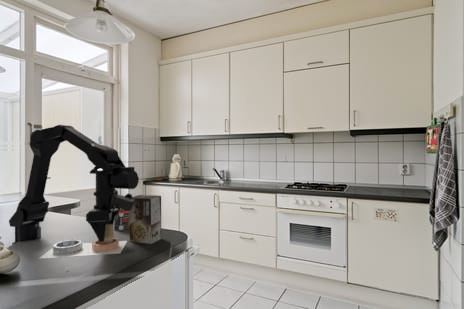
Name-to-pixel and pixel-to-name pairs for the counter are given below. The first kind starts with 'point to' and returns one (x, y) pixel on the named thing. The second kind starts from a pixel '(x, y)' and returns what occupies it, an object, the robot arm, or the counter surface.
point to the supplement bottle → (122, 220)
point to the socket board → (85, 251)
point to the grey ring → (67, 247)
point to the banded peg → (107, 235)
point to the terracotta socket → (105, 246)
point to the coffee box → (145, 219)
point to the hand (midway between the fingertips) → (105, 237)
